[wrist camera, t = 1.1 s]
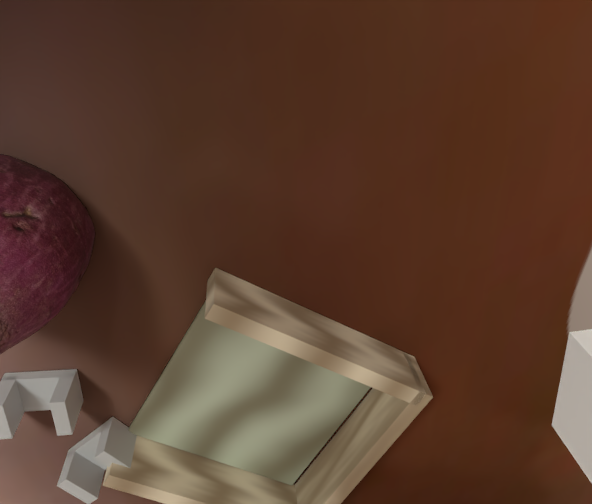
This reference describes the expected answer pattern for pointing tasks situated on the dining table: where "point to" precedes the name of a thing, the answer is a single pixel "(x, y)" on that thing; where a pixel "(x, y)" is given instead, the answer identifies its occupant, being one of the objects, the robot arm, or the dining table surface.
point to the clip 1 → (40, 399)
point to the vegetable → (38, 248)
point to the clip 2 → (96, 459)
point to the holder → (268, 406)
